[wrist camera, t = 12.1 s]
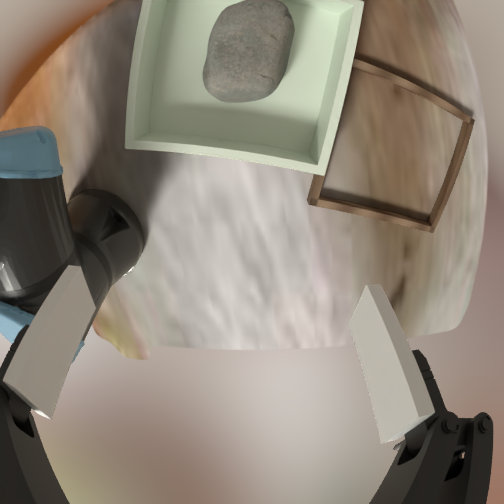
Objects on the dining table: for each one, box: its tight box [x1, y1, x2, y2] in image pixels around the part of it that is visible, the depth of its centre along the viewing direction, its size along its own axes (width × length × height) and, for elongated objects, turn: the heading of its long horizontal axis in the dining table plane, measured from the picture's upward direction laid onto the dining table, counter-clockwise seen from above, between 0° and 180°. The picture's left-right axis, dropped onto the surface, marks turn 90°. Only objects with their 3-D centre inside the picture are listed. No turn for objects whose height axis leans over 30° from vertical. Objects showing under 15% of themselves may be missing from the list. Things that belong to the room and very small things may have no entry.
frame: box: [307, 58, 475, 233], centre depth 31 cm, size 22×20×2 cm
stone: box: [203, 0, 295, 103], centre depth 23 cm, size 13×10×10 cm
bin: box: [125, 0, 364, 176], centre depth 24 cm, size 22×21×6 cm
